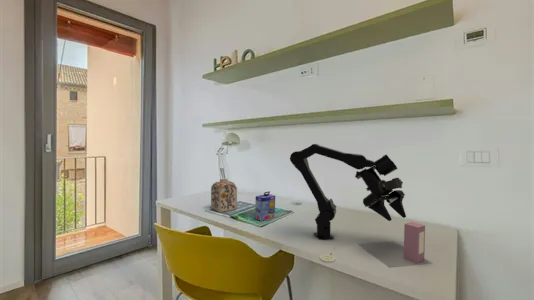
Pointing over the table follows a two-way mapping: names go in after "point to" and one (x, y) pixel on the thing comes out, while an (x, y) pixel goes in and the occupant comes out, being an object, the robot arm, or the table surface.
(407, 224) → the pink box
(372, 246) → the mat
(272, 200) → the ink cartridge box
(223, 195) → the decorative jar
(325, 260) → the sign
